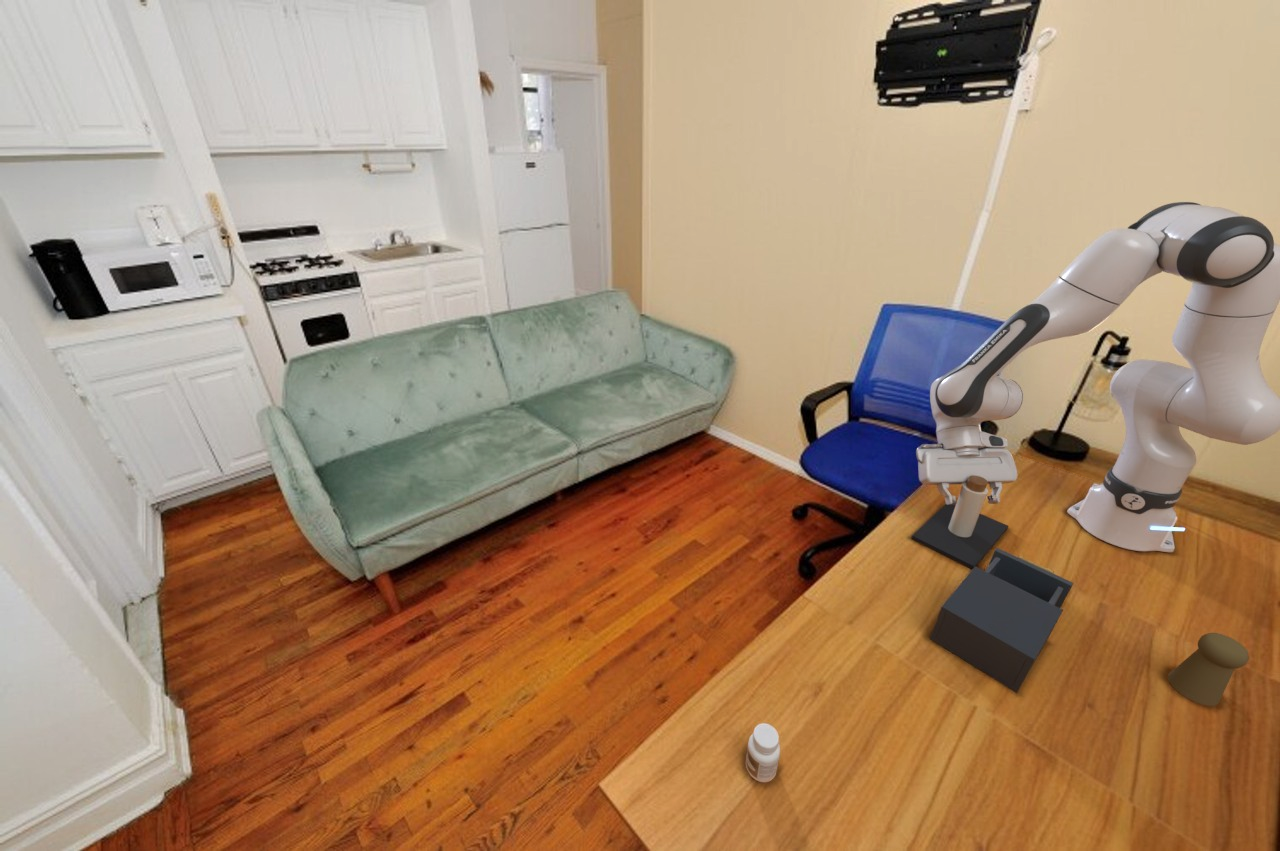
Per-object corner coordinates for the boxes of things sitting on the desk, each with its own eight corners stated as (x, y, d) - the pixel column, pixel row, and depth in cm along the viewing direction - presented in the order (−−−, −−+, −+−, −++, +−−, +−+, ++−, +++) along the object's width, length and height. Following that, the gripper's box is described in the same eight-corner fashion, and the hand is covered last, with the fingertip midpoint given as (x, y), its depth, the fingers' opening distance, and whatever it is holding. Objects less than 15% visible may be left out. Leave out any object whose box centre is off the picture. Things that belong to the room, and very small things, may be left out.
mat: (948, 503, 126) (949, 500, 125) (1007, 529, 117) (1008, 525, 117) (910, 538, 115) (912, 535, 114) (973, 570, 106) (974, 566, 105)
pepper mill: (961, 522, 118) (979, 472, 111) (977, 535, 114) (996, 484, 107) (943, 525, 117) (960, 475, 111) (958, 538, 113) (976, 487, 106)
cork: (1230, 709, 79) (1270, 663, 74) (1184, 702, 80) (1221, 656, 75) (1200, 674, 84) (1236, 629, 79) (1158, 668, 85) (1190, 623, 80)
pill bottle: (741, 752, 75) (746, 721, 71) (770, 749, 75) (776, 718, 71) (750, 785, 71) (755, 753, 67) (780, 781, 71) (787, 750, 67)
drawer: (994, 561, 107) (1004, 538, 104) (1067, 596, 98) (1080, 571, 95) (960, 604, 97) (969, 580, 94) (1037, 647, 88) (1050, 622, 85)
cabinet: (962, 597, 99) (975, 566, 96) (1045, 642, 90) (1063, 609, 86) (929, 638, 91) (941, 606, 87) (1017, 693, 82) (1034, 659, 78)
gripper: (922, 440, 112) (933, 502, 108) (1014, 439, 112) (1029, 501, 108) (908, 447, 118) (918, 506, 114) (995, 446, 118) (1009, 505, 114)
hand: (973, 504), depth 111 cm, fingers open, 8 cm apart
